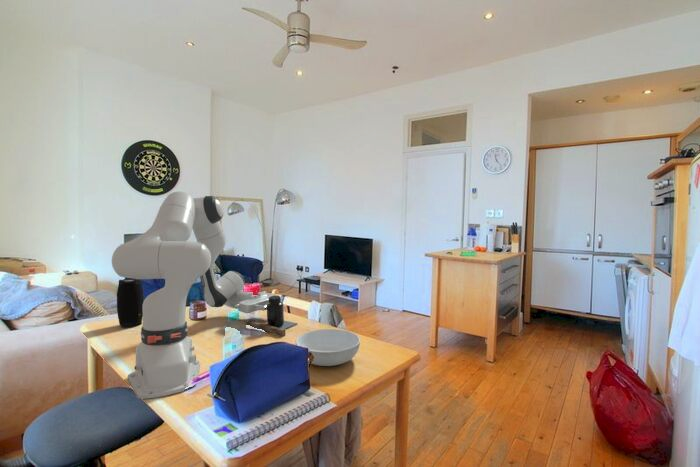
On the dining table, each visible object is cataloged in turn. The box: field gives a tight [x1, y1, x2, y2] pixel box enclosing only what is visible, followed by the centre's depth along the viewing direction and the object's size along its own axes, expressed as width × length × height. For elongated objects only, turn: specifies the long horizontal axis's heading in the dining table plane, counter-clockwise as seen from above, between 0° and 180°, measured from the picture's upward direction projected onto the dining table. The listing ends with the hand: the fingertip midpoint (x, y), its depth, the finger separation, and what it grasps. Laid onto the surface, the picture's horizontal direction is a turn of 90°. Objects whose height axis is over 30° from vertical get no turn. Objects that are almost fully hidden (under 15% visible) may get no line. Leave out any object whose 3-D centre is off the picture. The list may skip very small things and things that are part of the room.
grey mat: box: [264, 320, 298, 331], centre depth 145 cm, size 11×11×1 cm
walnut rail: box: [245, 320, 286, 338], centre depth 137 cm, size 20×2×2 cm, turn 60°
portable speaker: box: [116, 278, 145, 329], centre depth 143 cm, size 9×9×20 cm
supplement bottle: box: [266, 295, 285, 327], centre depth 143 cm, size 7×7×12 cm
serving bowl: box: [295, 328, 361, 367], centre depth 111 cm, size 21×21×7 cm
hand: (273, 305), depth 146 cm, fingers open, 8 cm apart
